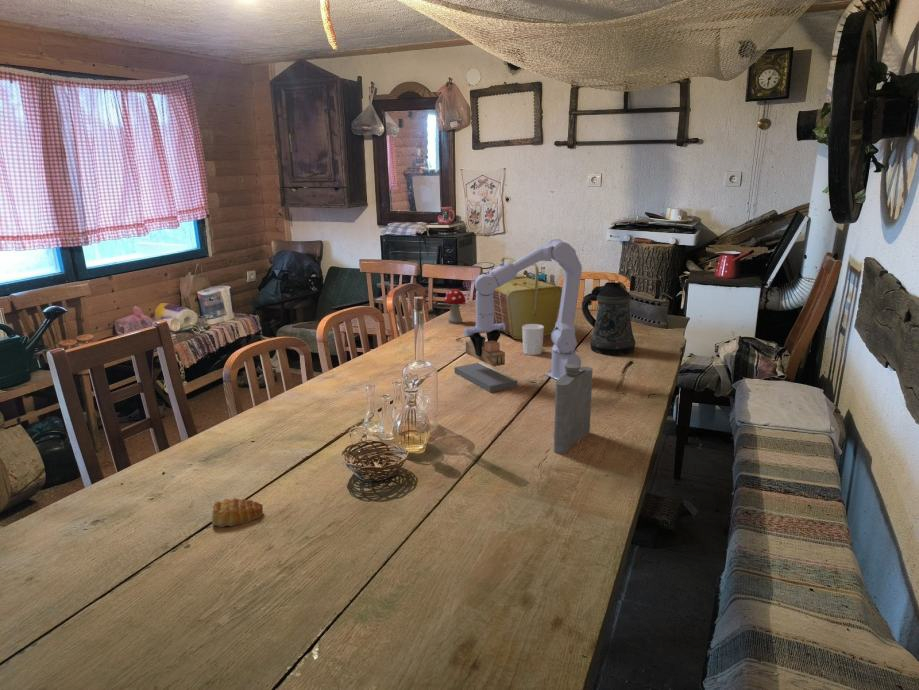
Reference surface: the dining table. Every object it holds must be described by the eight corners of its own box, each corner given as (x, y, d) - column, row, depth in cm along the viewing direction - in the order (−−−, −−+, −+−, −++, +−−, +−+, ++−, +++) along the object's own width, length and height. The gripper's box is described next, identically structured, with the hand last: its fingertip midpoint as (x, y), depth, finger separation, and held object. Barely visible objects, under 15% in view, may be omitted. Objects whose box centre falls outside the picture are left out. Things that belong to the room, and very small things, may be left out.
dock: (517, 386, 192) (517, 380, 191) (490, 392, 187) (490, 385, 186) (479, 367, 210) (479, 362, 210) (454, 372, 205) (454, 366, 205)
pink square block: (499, 350, 192) (499, 342, 191) (490, 352, 190) (490, 344, 189) (493, 347, 195) (493, 340, 194) (484, 349, 193) (484, 341, 192)
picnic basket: (475, 326, 265) (474, 257, 257) (526, 320, 276) (527, 253, 267) (508, 343, 240) (508, 266, 232) (563, 335, 250) (566, 261, 242)
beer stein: (639, 355, 221) (644, 287, 214) (585, 356, 222) (588, 288, 215) (628, 343, 237) (632, 279, 230) (578, 343, 237) (580, 279, 231)
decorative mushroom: (469, 321, 274) (469, 288, 270) (459, 325, 267) (459, 292, 263) (451, 319, 279) (450, 286, 275) (440, 323, 272) (439, 289, 268)
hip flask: (563, 455, 145) (566, 375, 140) (548, 451, 148) (550, 372, 142) (591, 432, 158) (595, 358, 152) (577, 429, 160) (580, 355, 155)
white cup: (542, 349, 230) (543, 324, 227) (543, 356, 223) (544, 329, 220) (521, 349, 231) (522, 323, 228) (521, 355, 223) (522, 329, 221)
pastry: (263, 506, 126) (262, 489, 125) (262, 523, 119) (260, 506, 118) (215, 513, 123) (212, 496, 122) (211, 531, 117) (208, 513, 116)
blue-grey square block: (485, 344, 199) (485, 336, 198) (476, 345, 197) (476, 338, 196) (479, 341, 202) (479, 334, 201) (470, 343, 200) (470, 336, 199)
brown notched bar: (504, 364, 191) (504, 352, 190) (494, 366, 189) (494, 354, 188) (476, 351, 205) (476, 340, 204) (465, 353, 203) (465, 341, 202)
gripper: (497, 308, 199) (496, 348, 203) (458, 313, 192) (458, 355, 196) (509, 312, 194) (508, 353, 197) (469, 317, 187) (470, 360, 190)
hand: (484, 354), depth 196 cm, fingers closed on brown notched bar, 4 cm apart
